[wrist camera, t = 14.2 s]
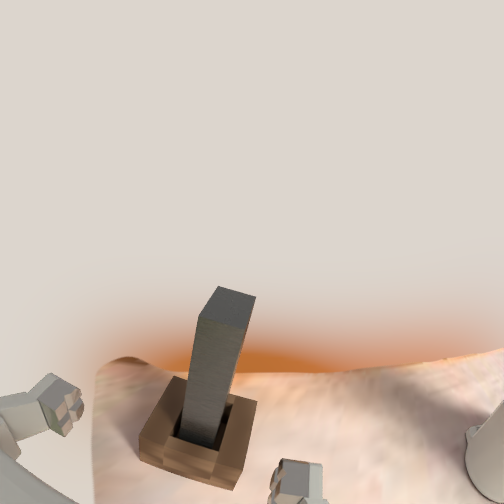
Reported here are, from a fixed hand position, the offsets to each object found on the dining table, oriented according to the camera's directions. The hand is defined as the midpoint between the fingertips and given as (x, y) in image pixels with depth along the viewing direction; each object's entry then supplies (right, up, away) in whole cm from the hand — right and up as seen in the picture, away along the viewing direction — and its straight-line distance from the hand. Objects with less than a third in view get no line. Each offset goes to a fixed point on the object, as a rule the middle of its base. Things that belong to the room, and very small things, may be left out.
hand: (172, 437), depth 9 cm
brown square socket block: (-3, -13, +16) cm, 21 cm away
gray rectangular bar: (-2, -12, +16) cm, 20 cm away
